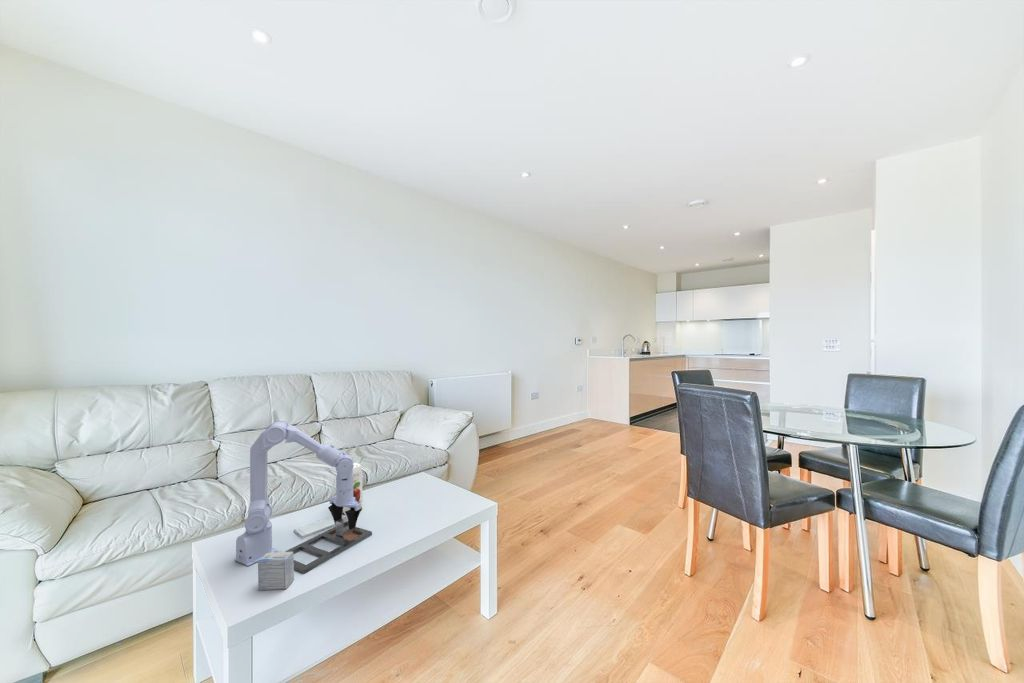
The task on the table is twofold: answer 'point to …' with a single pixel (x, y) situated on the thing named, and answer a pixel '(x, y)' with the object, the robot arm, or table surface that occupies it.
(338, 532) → the grey metal block
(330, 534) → the grey window frame
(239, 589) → the table surface
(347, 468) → the robot arm
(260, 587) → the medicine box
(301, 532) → the hard drive
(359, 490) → the juice carton
